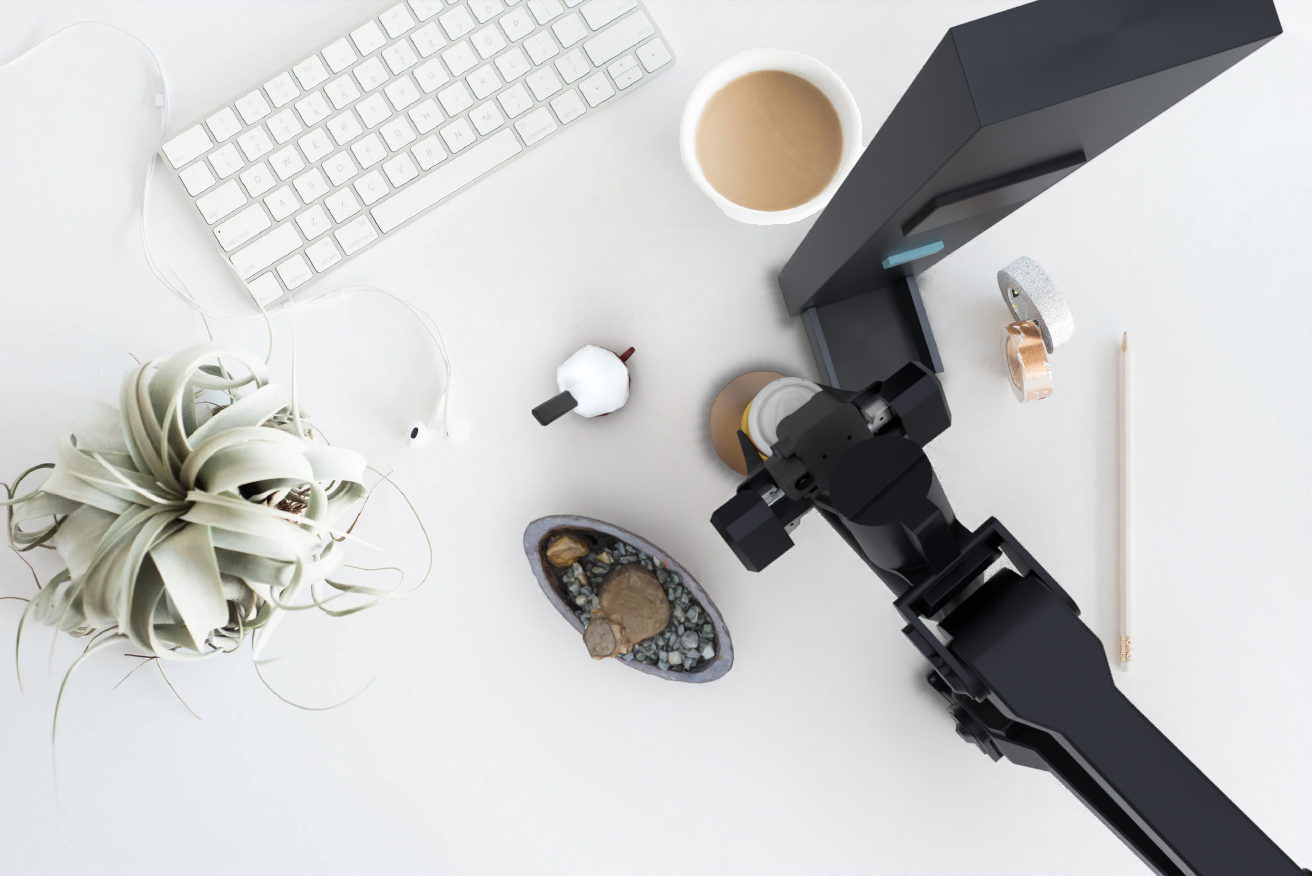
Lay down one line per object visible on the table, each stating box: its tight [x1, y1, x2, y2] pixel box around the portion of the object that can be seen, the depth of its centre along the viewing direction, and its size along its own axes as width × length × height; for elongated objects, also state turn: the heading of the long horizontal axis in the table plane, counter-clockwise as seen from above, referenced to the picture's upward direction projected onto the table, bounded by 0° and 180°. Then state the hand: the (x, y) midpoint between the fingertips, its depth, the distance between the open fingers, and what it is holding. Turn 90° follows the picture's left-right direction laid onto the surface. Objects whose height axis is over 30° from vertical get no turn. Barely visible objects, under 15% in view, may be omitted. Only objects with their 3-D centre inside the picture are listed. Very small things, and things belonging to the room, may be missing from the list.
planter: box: [522, 514, 735, 684], centre depth 67 cm, size 15×17×20 cm
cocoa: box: [531, 344, 637, 427], centre depth 71 cm, size 10×6×12 cm, turn 109°
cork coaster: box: [708, 370, 788, 477], centre depth 77 cm, size 10×10×1 cm
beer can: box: [741, 376, 822, 459], centre depth 66 cm, size 6×6×15 cm
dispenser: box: [776, 0, 1284, 392], centre depth 54 cm, size 14×12×46 cm
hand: (772, 408), depth 66 cm, fingers closed on beer can, 6 cm apart
